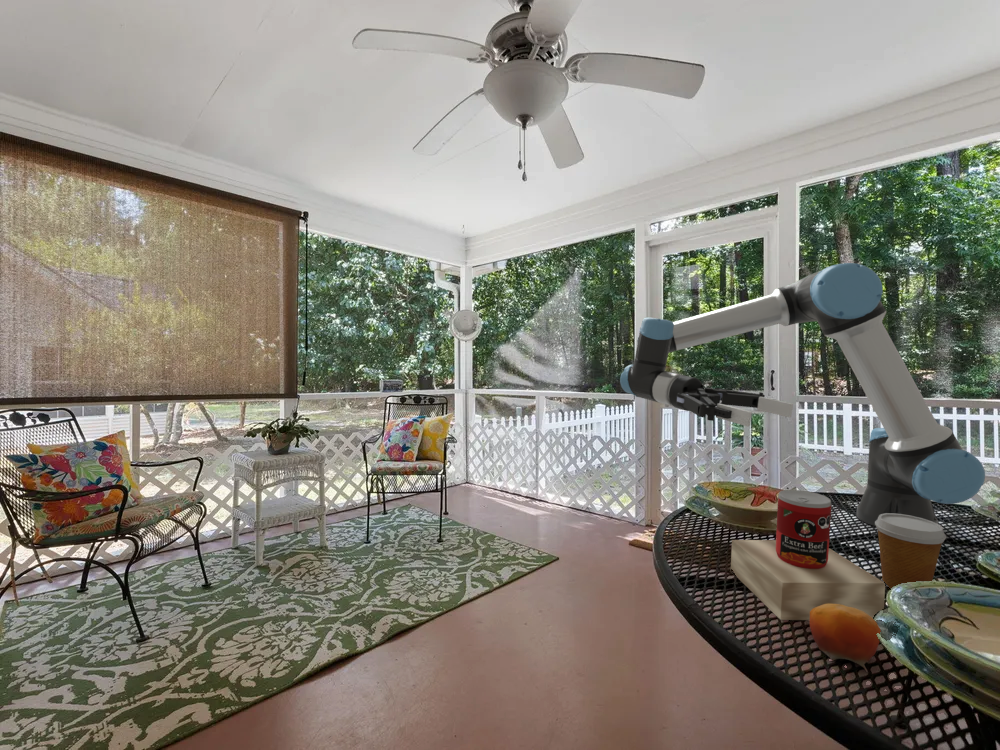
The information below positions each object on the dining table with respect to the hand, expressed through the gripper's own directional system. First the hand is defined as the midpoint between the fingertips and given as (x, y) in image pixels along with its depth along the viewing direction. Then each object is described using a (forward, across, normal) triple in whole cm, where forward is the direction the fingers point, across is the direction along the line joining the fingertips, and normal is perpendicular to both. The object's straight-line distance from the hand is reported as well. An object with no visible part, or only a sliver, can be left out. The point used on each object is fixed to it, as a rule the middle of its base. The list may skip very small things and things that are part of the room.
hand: (771, 414), depth 90 cm
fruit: (+24, +18, -26) cm, 40 cm away
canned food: (+12, +6, -22) cm, 26 cm away
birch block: (+12, +6, -28) cm, 31 cm away
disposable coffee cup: (+21, -12, -28) cm, 37 cm away
